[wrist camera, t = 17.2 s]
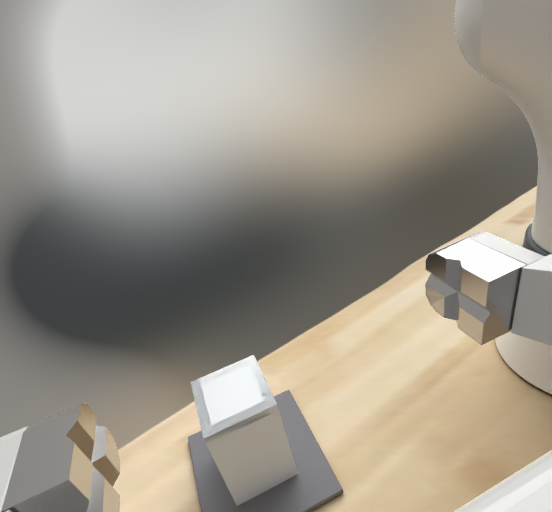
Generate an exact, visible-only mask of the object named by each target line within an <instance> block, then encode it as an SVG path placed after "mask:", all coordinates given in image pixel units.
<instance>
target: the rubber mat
mask: <svg viewBox="0 0 552 512" xmlns="http://www.w3.org/2000/svg"><path fill="white" fill-rule="evenodd" d="M274 399H275V401H276V403H277V406H278V409H279V413H280V416H281V419H282V423H283V426H284V429H285V432H286V436H287V439H288V442H289V446H290V449H291V452H292V456H293V459H294V462H295V466H296V469H297V472H298V474H297V475H295V476H293V477H291V478H289V479H287V480H286V481H284V482H282V483H280V484H278V485H276V486H274V487H272V488H270V489H269V490H267V491H265V492H263V493H261V494H259V495H257V496H255V497H253V498H252V499H250V500H248V501H246V502H244V503H242V504H240V505H238V506H237V505H236V503H235V501H234V499H233V497H232V495H231V493H230V491H229V489H228V487H227V485H226V483H225V481H224V479H223V477H222V475H221V473H220V471H219V469H218V467H217V465H216V463H215V461H214V459H213V457H212V455H211V453H210V451H209V449H208V447H207V445H206V443H205V441H204V439H203V435H202V431H200V432H198V433H196V434H194V435H191V436H189V437H188V440H189V445H190V451H191V456H192V462H193V467H194V473H195V478H196V484H197V489H198V495H199V500H200V506H201V511H202V512H309V511H311V510H312V509H314V508H316V507H318V506H320V505H321V504H323V503H325V502H327V501H329V500H330V499H332V498H334V497H336V496H337V495H339V494H341V493H343V489H342V487H341V485H340V483H339V481H338V480H337V478H336V476H335V474H334V472H333V470H332V468H331V467H330V465H329V463H328V461H327V459H326V457H325V456H324V454H323V452H322V450H321V448H320V446H319V444H318V443H317V441H316V439H315V437H314V435H313V433H312V431H311V430H310V428H309V426H308V424H307V422H306V420H305V418H304V417H303V415H302V413H301V411H300V409H299V407H298V405H297V404H296V402H295V400H294V398H293V396H292V394H291V392H290V391H289V390H287V391H285V392H283V393H281V394H279V395H277V396H274Z"/></svg>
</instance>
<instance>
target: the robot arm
mask: <svg viewBox="0 0 552 512" xmlns="http://www.w3.org/2000/svg"><path fill="white" fill-rule="evenodd" d="M455 32H456V37H457V42H458V44H459V47H460V50H461V52H462V54H463V56H464V58H465V59H466V61H467V62H468V63H469V64H470V66H471V67H472V68H473V69H474V70H475V71H477V72H478V73H479V74H480V75H482V76H483V77H485V78H487V79H488V80H490V81H492V82H493V83H495V84H496V85H497V86H499V87H500V88H501V89H503V90H504V91H505V92H506V93H507V94H508V95H509V96H510V97H511V98H512V99H513V100H514V101H515V103H517V105H518V106H519V107H520V109H521V110H522V112H523V113H524V115H525V116H526V118H527V120H528V122H529V124H530V126H531V129H532V131H533V134H534V137H535V141H536V145H537V151H538V182H537V193H536V202H535V210H534V216H533V223H532V224H530V225H529V227H528V228H527V230H526V233H525V237H524V239H523V242H522V245H521V246H519V245H516V244H514V243H512V242H509V241H507V240H504V239H502V238H500V237H497V236H495V235H492V234H490V233H488V232H477V233H475V234H473V235H471V236H469V237H466V238H464V239H462V240H461V241H458V242H456V243H454V244H452V245H449V246H447V247H445V248H443V249H440V250H438V251H436V252H433V253H431V254H429V255H428V257H427V259H426V270H427V271H428V272H429V273H430V276H429V278H428V280H427V282H426V296H427V298H428V300H429V303H430V305H431V306H432V307H433V308H434V310H435V311H436V312H437V313H439V314H440V315H441V316H443V317H444V318H448V319H453V320H456V322H457V325H458V328H459V329H460V330H461V331H463V332H464V333H465V334H467V335H468V336H469V337H471V338H472V339H474V340H475V341H476V342H478V343H479V344H480V345H483V344H485V343H487V342H489V341H491V340H493V339H495V342H496V346H497V349H498V351H499V353H500V355H501V356H502V358H503V359H504V361H505V362H506V363H507V364H508V365H509V366H510V367H511V368H512V369H513V370H514V371H515V372H516V373H517V374H518V375H520V376H521V377H522V378H524V379H525V380H527V381H528V382H530V383H531V384H533V385H534V386H536V387H538V388H540V389H542V390H544V391H546V392H548V393H550V394H552V0H457V1H456V8H455ZM119 474H120V459H119V455H118V450H117V445H116V443H115V441H114V439H113V437H112V435H111V433H110V432H109V430H108V429H107V428H105V427H102V426H97V425H96V413H95V412H94V411H93V409H92V408H91V407H90V406H89V405H88V404H81V405H78V406H75V407H73V408H70V409H68V410H66V411H63V412H61V413H58V414H56V415H53V416H51V417H48V418H46V419H44V420H41V421H38V422H36V423H34V424H31V425H29V426H28V427H25V428H22V429H20V430H18V431H15V432H13V433H10V434H8V435H5V436H3V437H1V438H0V512H119V508H120V496H119V494H118V493H117V492H116V491H115V489H114V488H113V485H114V483H115V481H116V480H117V478H118V476H119ZM453 512H552V450H551V451H549V452H547V453H546V454H544V455H543V456H541V457H539V458H538V459H536V460H535V461H533V462H531V463H530V464H528V465H527V466H525V467H523V468H522V469H520V470H519V471H517V472H516V473H514V474H512V475H511V476H509V477H508V478H506V479H504V480H503V481H501V482H500V483H498V484H496V485H495V486H493V487H492V488H490V489H488V490H487V491H485V492H484V493H482V494H481V495H479V496H477V497H476V498H474V499H473V500H471V501H469V502H468V503H466V504H465V505H463V506H461V507H460V508H458V509H457V510H455V511H453Z"/></svg>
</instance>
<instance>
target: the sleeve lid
mask: <svg viewBox="0 0 552 512" xmlns="http://www.w3.org/2000/svg"><path fill="white" fill-rule="evenodd" d="M191 386H192V390H193V395H194V399H195V404H196V408H197V413H198V417H199V422H200V426H201V430H202V435H203V439H204V441H205V443H206V445H207V447H208V449H209V451H210V453H211V455H212V457H213V459H214V461H215V463H216V465H217V467H218V469H219V471H220V473H221V475H222V477H223V479H224V481H225V483H226V485H227V487H228V489H229V491H230V493H231V495H232V497H233V499H234V501H235V503H236V505H237V506H238V505H240V504H242V503H244V502H246V501H248V500H250V499H252V498H253V497H255V496H257V495H259V494H261V493H263V492H265V491H267V490H269V489H270V488H272V487H274V486H276V485H278V484H280V483H282V482H284V481H286V480H287V479H289V478H291V477H293V476H295V475H297V474H298V472H297V469H296V466H295V462H294V459H293V456H292V452H291V449H290V446H289V442H288V439H287V436H286V432H285V429H284V426H283V423H282V419H281V416H280V413H279V409H278V406H277V403H276V401H275V399H274V397H273V395H272V393H271V391H270V388H269V386H268V384H267V382H266V380H265V378H264V376H263V374H262V372H261V370H260V367H259V365H258V363H257V361H256V359H255V357H254V355H252V356H250V357H248V358H246V359H243V360H241V361H238V362H236V363H234V364H232V365H229V366H227V367H225V368H222V369H220V370H218V371H215V372H213V373H211V374H208V375H207V376H204V377H202V378H199V379H197V380H195V381H192V382H191Z"/></svg>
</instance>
